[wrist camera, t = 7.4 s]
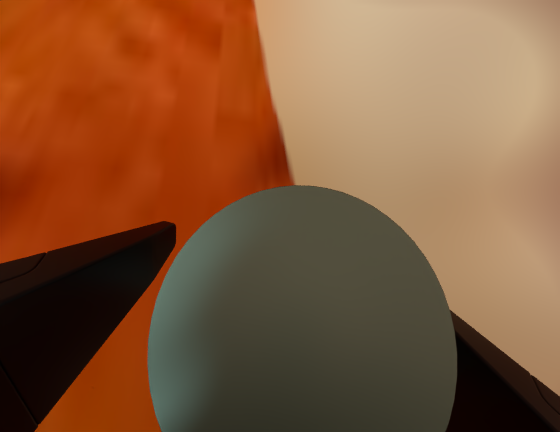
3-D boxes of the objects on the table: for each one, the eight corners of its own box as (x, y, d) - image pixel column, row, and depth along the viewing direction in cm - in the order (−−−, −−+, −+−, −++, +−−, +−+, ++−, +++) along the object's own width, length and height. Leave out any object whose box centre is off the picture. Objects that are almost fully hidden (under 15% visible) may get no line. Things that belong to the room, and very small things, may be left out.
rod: (273, 339, 14) (344, 657, 2) (228, 297, 15) (74, 348, 3) (311, 290, 16) (503, 305, 3) (268, 252, 16) (290, 140, 4)
